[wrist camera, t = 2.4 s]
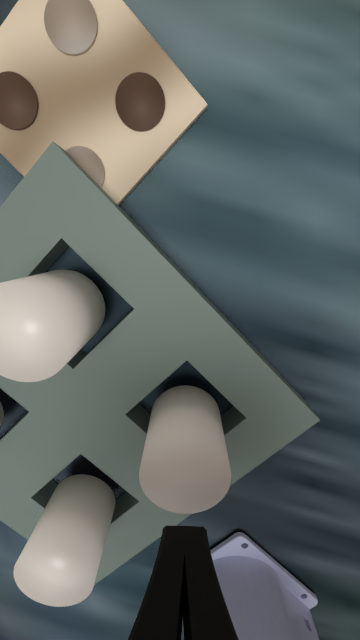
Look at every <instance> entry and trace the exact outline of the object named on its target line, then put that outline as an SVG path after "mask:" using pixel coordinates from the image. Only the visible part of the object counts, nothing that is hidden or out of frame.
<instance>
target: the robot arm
mask: <svg viewBox="0 0 360 640" xmlns="http://www.w3.org/2000/svg"><path fill="white" fill-rule="evenodd" d="M317 603H318V600H317V597H316V595H315V594H314V593H312V592H311V591H310V590H309V589H308V588H307V587H306V586H304V585H303V584H302V583H301V582H300V581H299V580H297V579H296V578H295V577H294V576H293V575H292V574H290V573H289V572H288V571H287V570H286V569H285V568H284V567H282V566H281V565H280V564H279V563H278V562H277V561H275V560H274V559H273V558H272V557H271V556H270V555H268V554H267V553H266V552H265V551H264V550H263V549H262V548H260V547H259V546H258V545H257V544H256V543H255V542H253V541H252V540H251V539H250V538H249V537H248V536H247V535H245V534H244V533H242V532H237V533H235V534H233V535H232V536H231V537H229V538H228V539H226V540H225V541H223V542H222V543H220V544H219V545H217V546H216V547H214V548H213V549H211V550H210V547H209V543H208V537H207V531H206V529H205V528H204V527H195V526H167V525H166V526H165V527H164V528H163V531H162V537H161V542H160V547H159V551H158V555H157V558H156V562H155V565H154V569H153V572H152V575H151V578H150V581H149V584H148V587H147V590H146V593H145V596H144V599H143V602H142V605H141V607H140V610H139V613H138V615H137V618H136V620H135V623H134V626H133V628H132V631H131V633H130V636H129V638H128V640H181V632H182V619H183V624H184V640H319V637H318V634H317V631H316V628H315V625H314V622H313V619H312V616H311V613H310V610H309V609H311V608H313V607H315V606H316V605H317Z"/></svg>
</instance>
